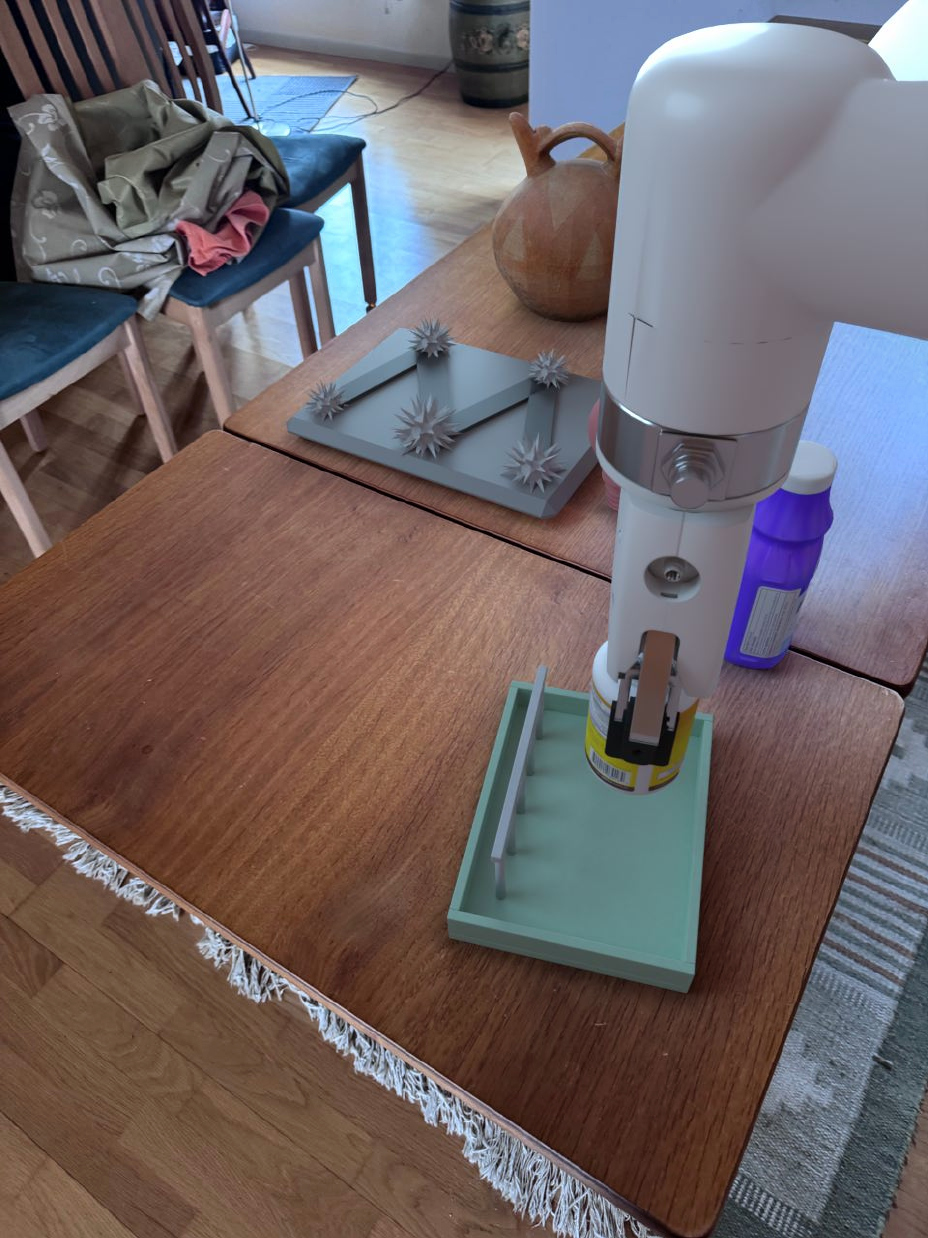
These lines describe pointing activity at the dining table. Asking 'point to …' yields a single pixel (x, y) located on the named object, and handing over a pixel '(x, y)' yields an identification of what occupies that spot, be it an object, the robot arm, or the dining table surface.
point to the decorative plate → (461, 419)
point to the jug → (560, 224)
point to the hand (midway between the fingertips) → (643, 705)
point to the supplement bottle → (617, 770)
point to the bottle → (782, 559)
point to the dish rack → (582, 850)
